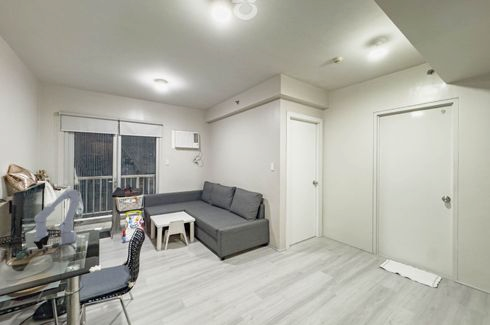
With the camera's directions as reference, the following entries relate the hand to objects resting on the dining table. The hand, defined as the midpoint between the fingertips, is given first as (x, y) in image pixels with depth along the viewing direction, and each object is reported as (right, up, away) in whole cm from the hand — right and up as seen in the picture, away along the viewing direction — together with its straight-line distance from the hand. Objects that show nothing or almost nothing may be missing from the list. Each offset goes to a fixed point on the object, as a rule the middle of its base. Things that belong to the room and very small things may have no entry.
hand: (42, 247), depth 157 cm
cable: (0, -2, 0) cm, 2 cm away
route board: (+4, -2, -8) cm, 9 cm away
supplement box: (-14, -3, +8) cm, 16 cm away
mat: (0, -2, 0) cm, 2 cm away
